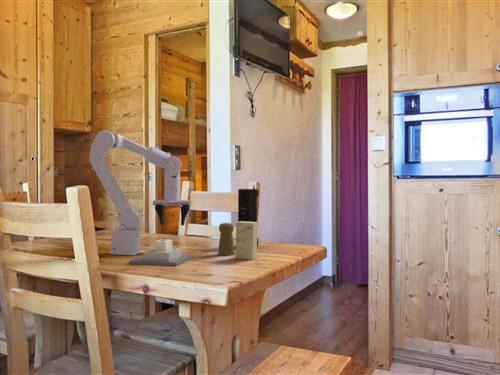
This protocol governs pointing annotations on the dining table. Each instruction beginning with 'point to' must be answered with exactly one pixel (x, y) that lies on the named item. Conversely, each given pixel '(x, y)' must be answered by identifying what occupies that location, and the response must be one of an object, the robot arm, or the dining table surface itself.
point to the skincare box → (246, 240)
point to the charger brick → (163, 245)
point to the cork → (226, 240)
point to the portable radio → (247, 205)
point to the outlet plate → (162, 258)
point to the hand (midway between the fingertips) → (172, 225)
